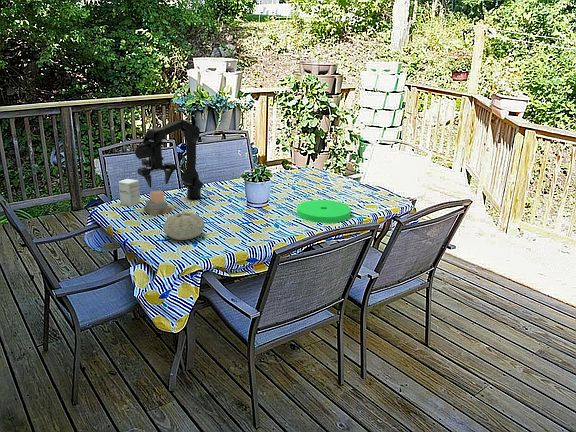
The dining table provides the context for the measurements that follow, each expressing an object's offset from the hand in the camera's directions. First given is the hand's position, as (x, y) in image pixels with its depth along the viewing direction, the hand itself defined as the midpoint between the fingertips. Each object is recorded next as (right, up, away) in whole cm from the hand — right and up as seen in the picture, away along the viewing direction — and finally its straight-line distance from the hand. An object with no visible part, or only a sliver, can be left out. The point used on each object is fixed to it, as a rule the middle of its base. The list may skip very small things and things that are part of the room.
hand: (158, 185), depth 252 cm
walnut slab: (-1, -13, +2) cm, 14 cm away
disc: (+83, -15, +3) cm, 84 cm away
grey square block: (-1, -11, +1) cm, 11 cm away
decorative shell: (+19, -24, -28) cm, 42 cm away
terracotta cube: (0, -8, 0) cm, 8 cm away
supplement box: (-18, -9, +12) cm, 24 cm away
